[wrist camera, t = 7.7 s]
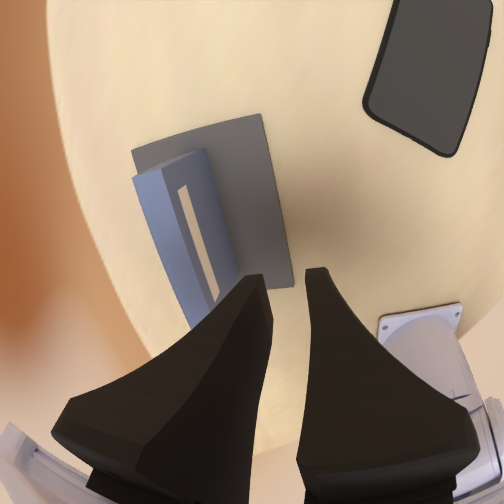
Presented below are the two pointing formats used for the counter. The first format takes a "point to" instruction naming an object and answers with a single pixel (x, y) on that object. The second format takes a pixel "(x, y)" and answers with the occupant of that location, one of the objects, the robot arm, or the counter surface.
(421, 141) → the smartphone
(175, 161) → the block
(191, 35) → the counter surface
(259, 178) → the mat
